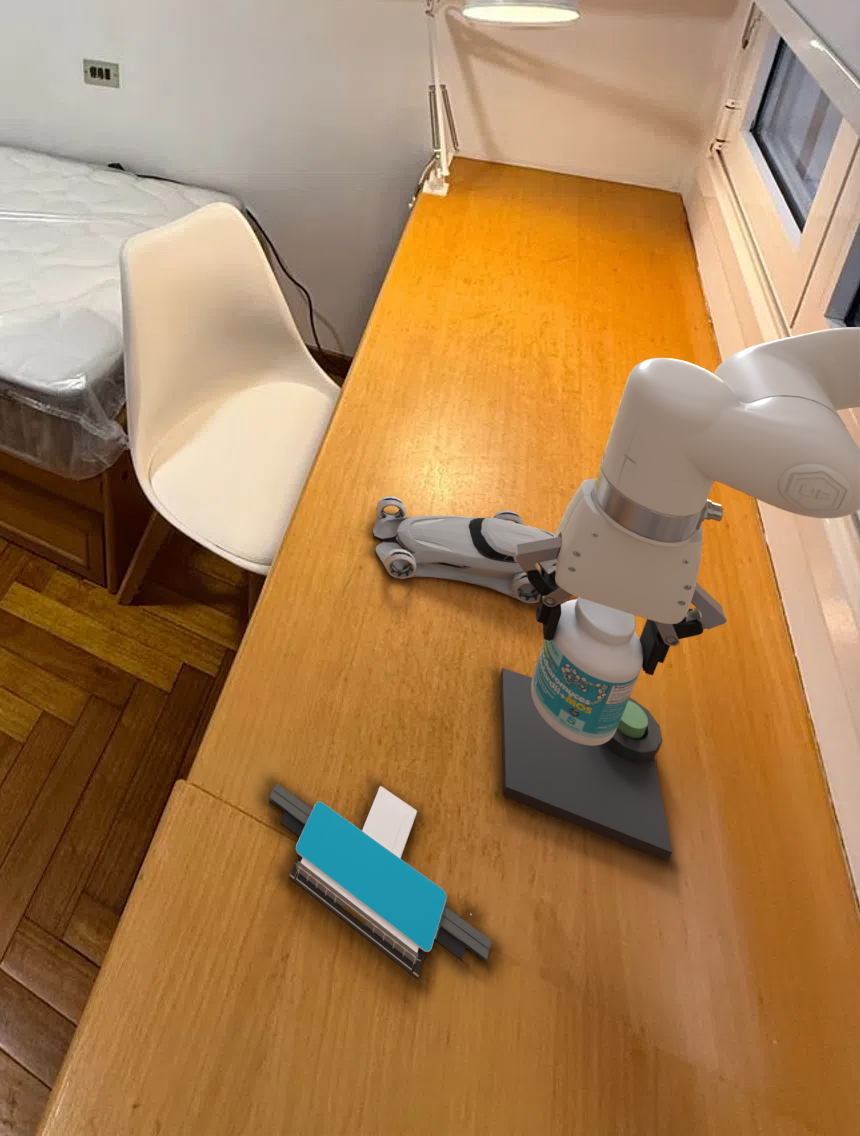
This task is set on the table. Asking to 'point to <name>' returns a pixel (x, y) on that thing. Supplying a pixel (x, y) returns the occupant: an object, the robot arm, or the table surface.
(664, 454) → the robot arm
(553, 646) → the pill bottle
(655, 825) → the scale
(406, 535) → the car model
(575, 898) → the table surface
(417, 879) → the blue paper trimmer
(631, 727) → the button
